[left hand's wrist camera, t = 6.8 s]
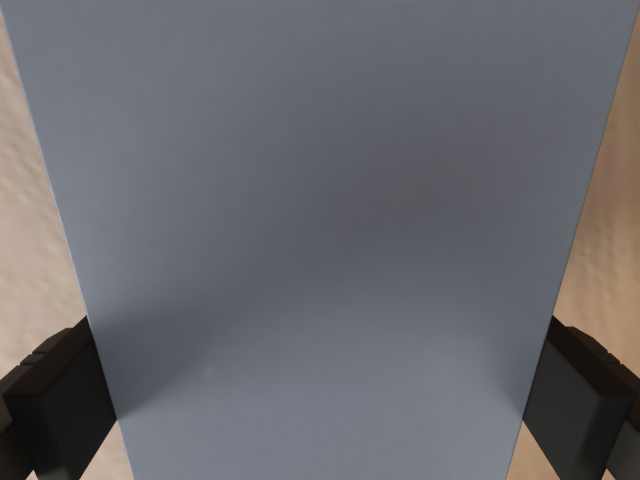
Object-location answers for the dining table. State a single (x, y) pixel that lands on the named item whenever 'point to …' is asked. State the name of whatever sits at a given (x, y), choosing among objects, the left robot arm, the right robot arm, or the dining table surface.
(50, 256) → the dining table surface
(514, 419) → the cabinet
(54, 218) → the dining table surface
